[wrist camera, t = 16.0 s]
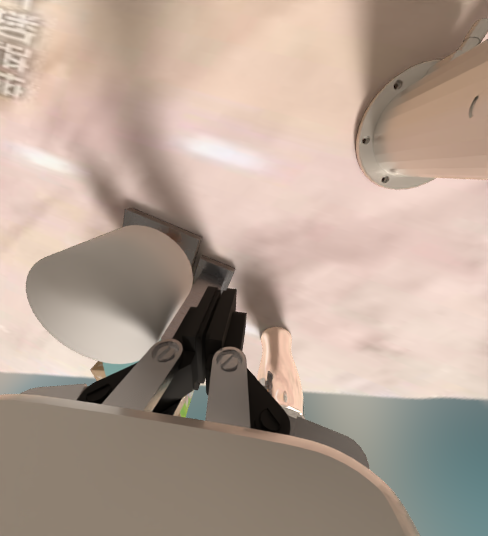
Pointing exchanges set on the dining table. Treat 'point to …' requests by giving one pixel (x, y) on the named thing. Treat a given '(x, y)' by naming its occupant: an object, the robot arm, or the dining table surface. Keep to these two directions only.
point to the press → (207, 268)
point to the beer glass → (281, 371)
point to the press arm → (111, 294)
